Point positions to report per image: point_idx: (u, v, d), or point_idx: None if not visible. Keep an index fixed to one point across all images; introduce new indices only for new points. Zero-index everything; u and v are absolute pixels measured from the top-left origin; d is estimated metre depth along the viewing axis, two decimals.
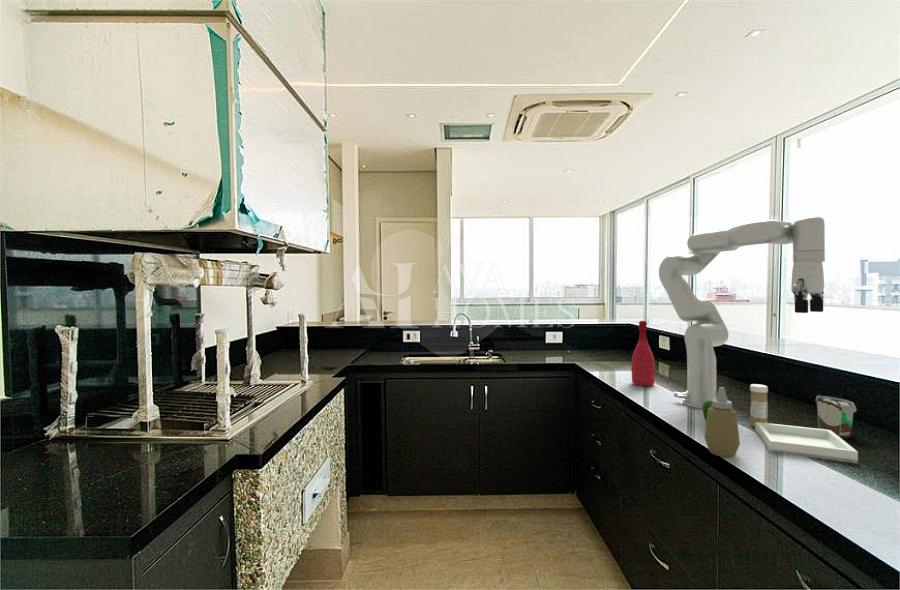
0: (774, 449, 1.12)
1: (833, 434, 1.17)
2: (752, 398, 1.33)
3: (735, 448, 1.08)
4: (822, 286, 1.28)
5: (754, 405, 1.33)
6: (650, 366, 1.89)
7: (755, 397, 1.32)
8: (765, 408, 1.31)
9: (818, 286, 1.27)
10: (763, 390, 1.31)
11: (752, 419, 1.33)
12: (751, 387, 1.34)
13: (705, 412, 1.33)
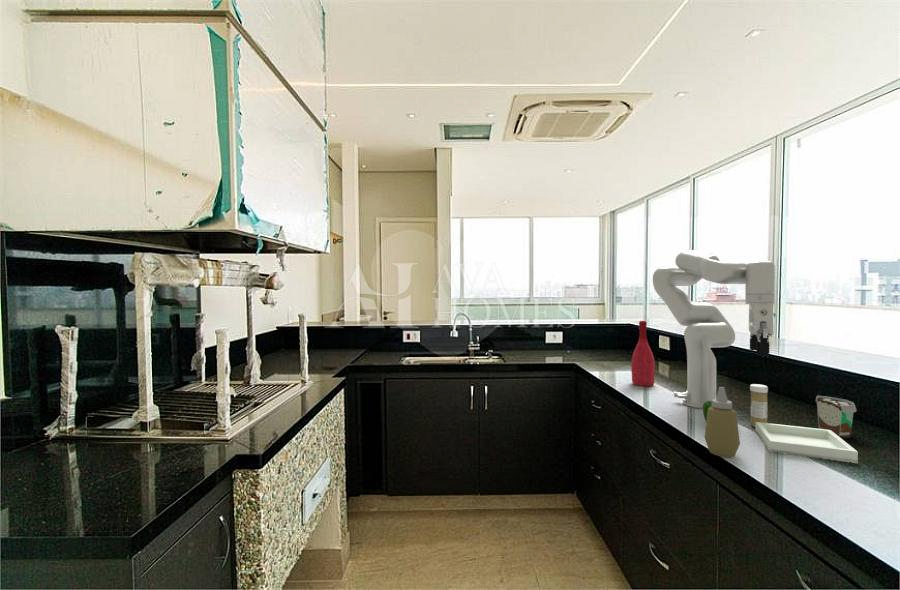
0: (774, 449, 1.12)
1: (833, 434, 1.17)
2: (752, 398, 1.33)
3: (735, 448, 1.08)
4: (753, 328, 1.31)
5: (754, 405, 1.33)
6: (650, 366, 1.89)
7: (755, 397, 1.32)
8: (765, 408, 1.31)
9: (751, 327, 1.34)
10: (763, 390, 1.31)
11: (752, 419, 1.33)
12: (751, 387, 1.34)
13: (705, 412, 1.33)
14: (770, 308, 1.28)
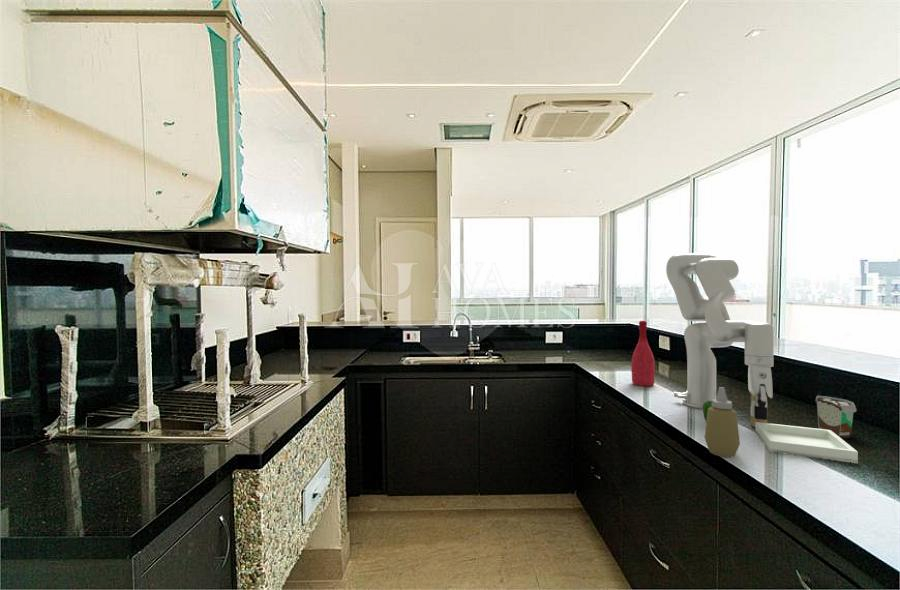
0: (774, 449, 1.12)
1: (833, 434, 1.17)
2: (752, 398, 1.33)
3: (735, 448, 1.08)
4: (752, 390, 1.31)
5: (754, 405, 1.33)
6: (650, 366, 1.89)
7: None
8: None
9: None
10: None
11: (752, 419, 1.33)
12: None
13: (705, 412, 1.33)
14: (769, 371, 1.28)
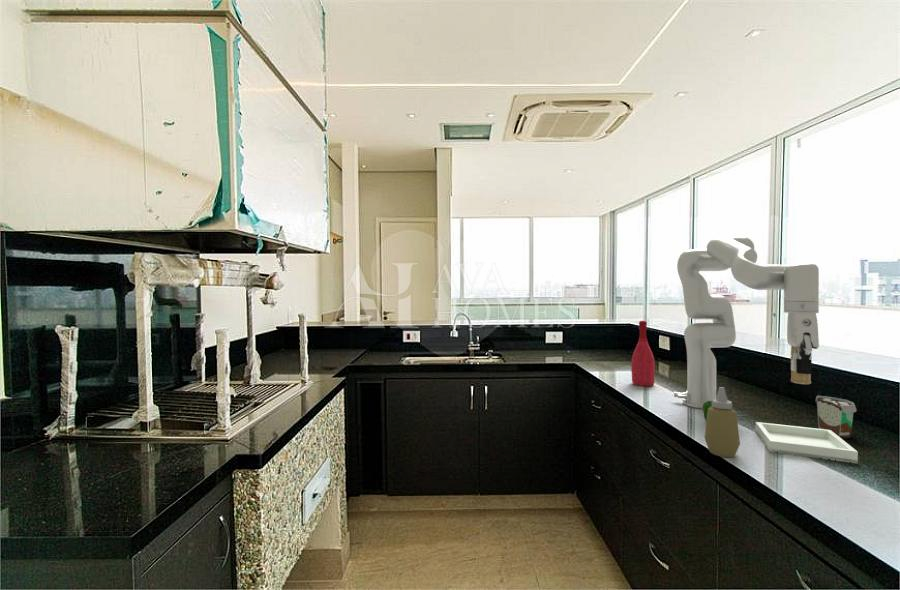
0: (774, 449, 1.12)
1: (833, 434, 1.17)
2: (793, 350, 1.17)
3: (735, 448, 1.08)
4: (794, 340, 1.15)
5: (796, 358, 1.16)
6: (650, 366, 1.89)
7: None
8: None
9: (791, 339, 1.17)
10: None
11: (793, 374, 1.17)
12: None
13: (705, 412, 1.33)
14: (815, 317, 1.12)
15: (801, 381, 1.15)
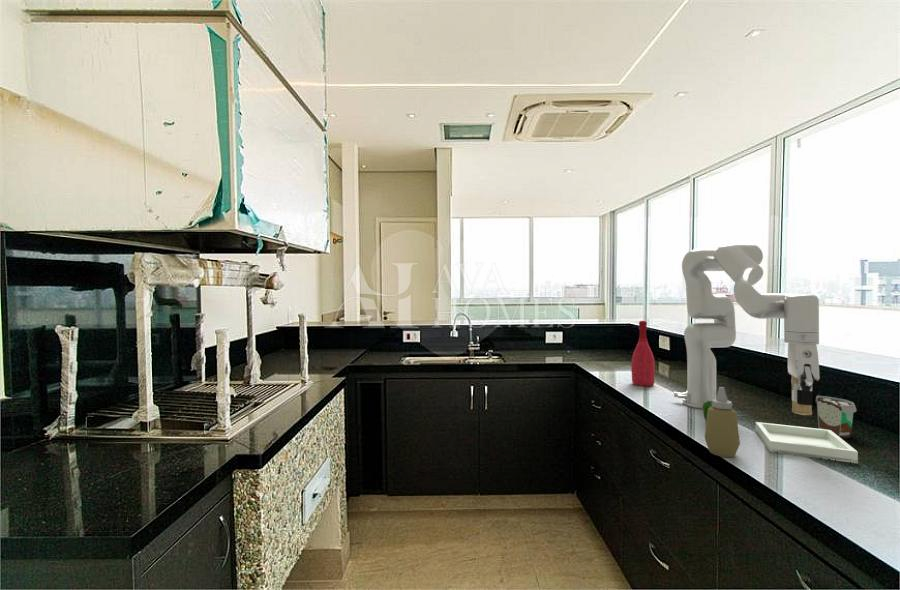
0: (774, 449, 1.12)
1: (833, 434, 1.17)
2: (794, 381, 1.17)
3: (735, 448, 1.08)
4: (795, 371, 1.15)
5: (797, 388, 1.16)
6: (650, 366, 1.89)
7: None
8: None
9: (791, 369, 1.17)
10: None
11: (794, 405, 1.17)
12: None
13: (705, 412, 1.33)
14: (815, 348, 1.12)
15: (802, 412, 1.15)
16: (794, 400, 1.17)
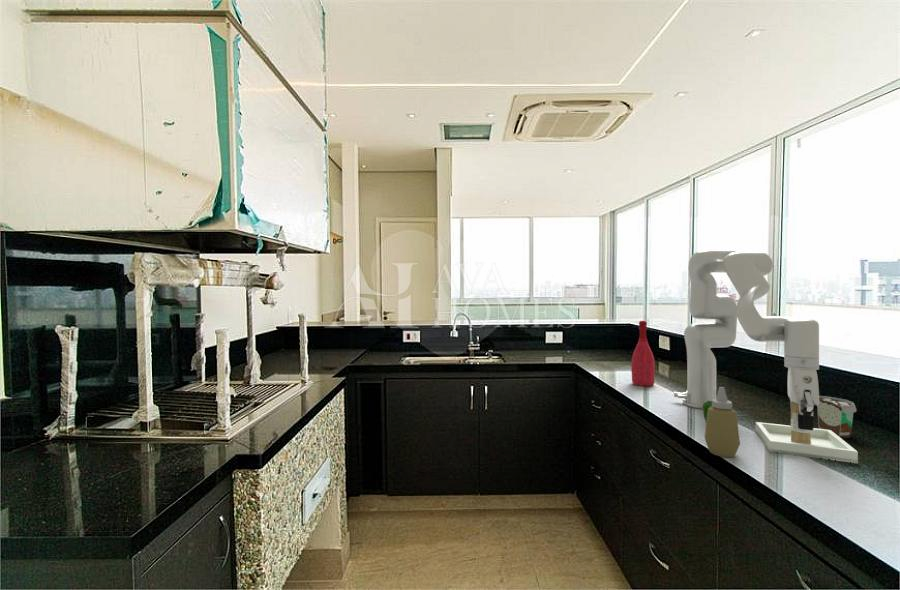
0: (774, 449, 1.12)
1: (833, 434, 1.17)
2: (793, 410, 1.17)
3: (735, 448, 1.08)
4: (795, 396, 1.15)
5: (796, 418, 1.16)
6: (650, 366, 1.89)
7: (797, 409, 1.16)
8: None
9: (791, 394, 1.17)
10: None
11: (793, 434, 1.17)
12: (791, 397, 1.18)
13: (705, 412, 1.33)
14: (815, 374, 1.12)
15: (801, 441, 1.15)
16: (793, 429, 1.17)
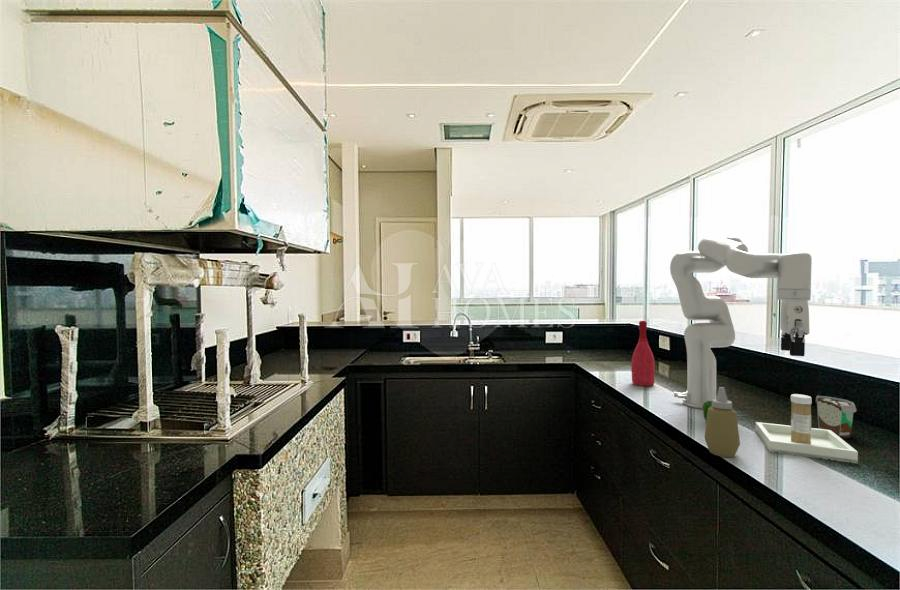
0: (774, 449, 1.12)
1: (833, 434, 1.17)
2: (793, 410, 1.17)
3: (735, 448, 1.08)
4: (786, 326, 1.19)
5: (796, 418, 1.16)
6: (650, 366, 1.89)
7: (797, 410, 1.16)
8: (809, 422, 1.15)
9: (783, 325, 1.22)
10: (807, 401, 1.15)
11: (793, 434, 1.17)
12: (792, 398, 1.17)
13: (705, 412, 1.33)
14: (806, 304, 1.16)
15: (801, 442, 1.15)
16: (793, 429, 1.17)
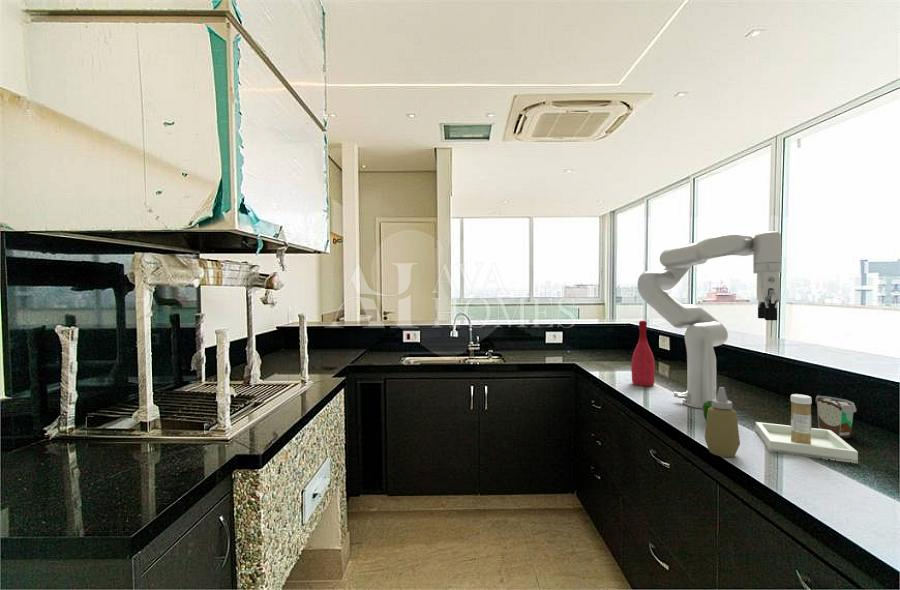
0: (774, 449, 1.12)
1: (833, 434, 1.17)
2: (793, 410, 1.17)
3: (735, 448, 1.08)
4: (761, 295, 1.37)
5: (796, 418, 1.16)
6: (650, 366, 1.89)
7: (797, 410, 1.16)
8: (809, 422, 1.15)
9: (759, 295, 1.40)
10: (806, 401, 1.15)
11: (793, 434, 1.17)
12: (792, 398, 1.17)
13: (705, 412, 1.33)
14: (777, 275, 1.34)
15: (801, 442, 1.15)
16: (793, 429, 1.17)
